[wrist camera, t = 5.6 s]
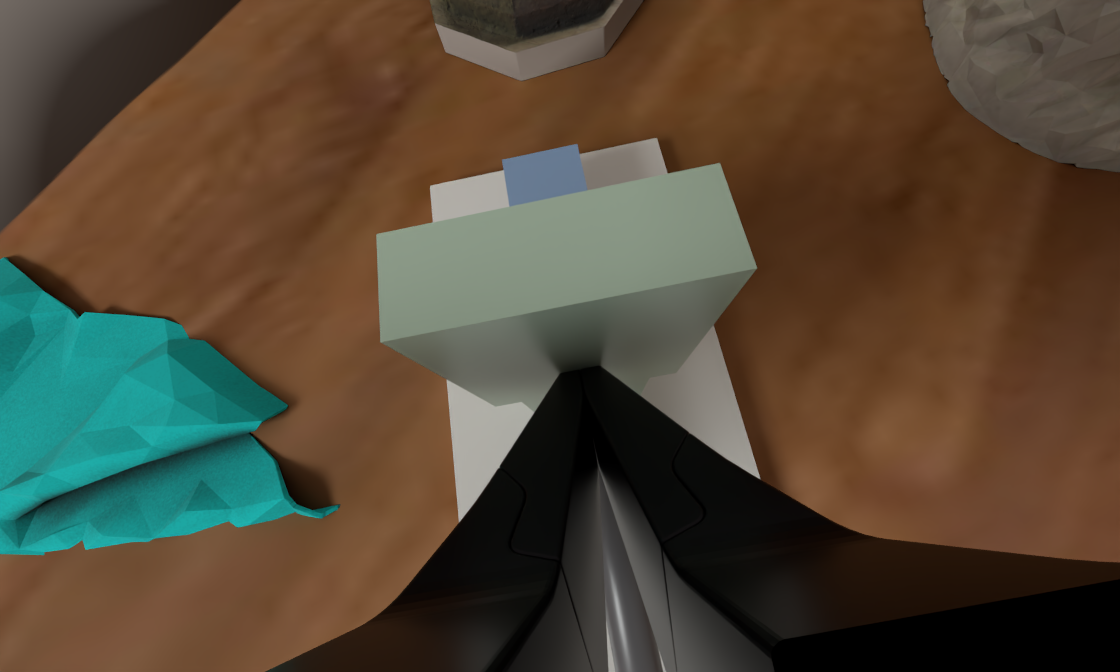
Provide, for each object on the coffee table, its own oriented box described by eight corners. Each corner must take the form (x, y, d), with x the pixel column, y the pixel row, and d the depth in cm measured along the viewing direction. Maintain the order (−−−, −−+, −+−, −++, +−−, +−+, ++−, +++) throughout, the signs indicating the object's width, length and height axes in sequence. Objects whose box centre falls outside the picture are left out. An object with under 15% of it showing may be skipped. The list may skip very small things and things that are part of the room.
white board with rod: (968, 1212, 10) (1275, 1842, 5) (536, 1255, 10) (485, 1874, 6) (654, 154, 19) (669, 59, 14) (438, 199, 19) (389, 121, 15)
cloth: (-161, 367, 21) (-250, 355, 18) (64, 166, 23) (9, 135, 21) (135, 792, 14) (51, 851, 12) (401, 448, 17) (371, 445, 15)
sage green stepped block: (658, 395, 14) (756, 268, 5) (520, 420, 14) (380, 341, 5) (632, 289, 16) (674, 35, 6) (506, 314, 16) (371, 102, 7)
